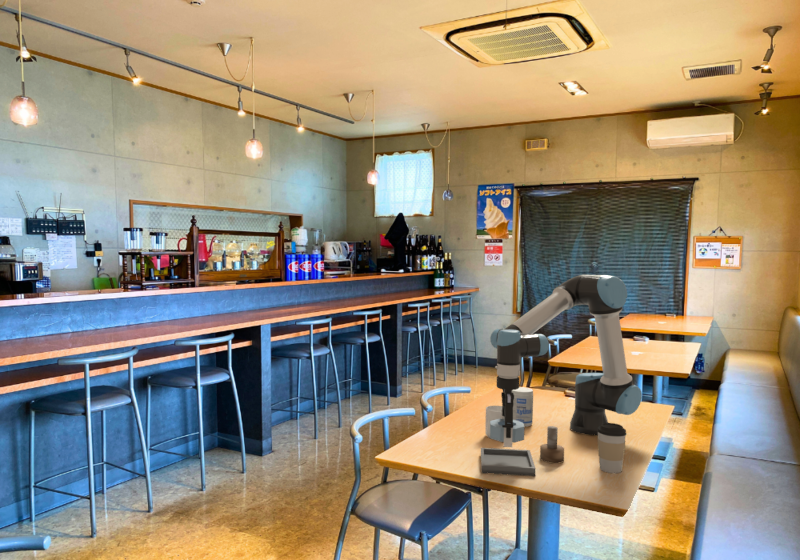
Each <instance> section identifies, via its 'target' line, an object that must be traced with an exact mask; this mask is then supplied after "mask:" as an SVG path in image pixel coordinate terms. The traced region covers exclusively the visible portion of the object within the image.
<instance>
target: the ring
mask: <svg viewBox="0 0 800 560" xmlns="http://www.w3.org/2000/svg"><path fill="white" fill-rule="evenodd" d="M507 424H511V423H507ZM502 425H505V419H496V420H492V421H490V438H489V439H491V440H494V441H497V442H500V443H504V428H502ZM524 440H525V427H524V424H523V422H520V421H516V420H513V434H512V444H514V443H518V442H521V441H524Z"/></svg>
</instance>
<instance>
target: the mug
mask: <svg viewBox="0 0 800 560" xmlns="http://www.w3.org/2000/svg"><path fill="white" fill-rule="evenodd" d="M502 417H504V416H502V405H489V406H486V407H485V435H486V436H487V438H488V439H491V438H490V421H492V420H496V419H502Z"/></svg>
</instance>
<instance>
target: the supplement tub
mask: <svg viewBox="0 0 800 560" xmlns="http://www.w3.org/2000/svg"><path fill="white" fill-rule="evenodd" d="M512 393H513V395H514V400H513V404H514V406H513V420H516V421H520V422H523V424H524V428H525V427H526V428H527V427H530V426H532V425H533V421H534V420H533V419H534V418H533V416H534V390H533V389H532V388H529V387H525V386H519V388H518V389H516V390H512Z"/></svg>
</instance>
